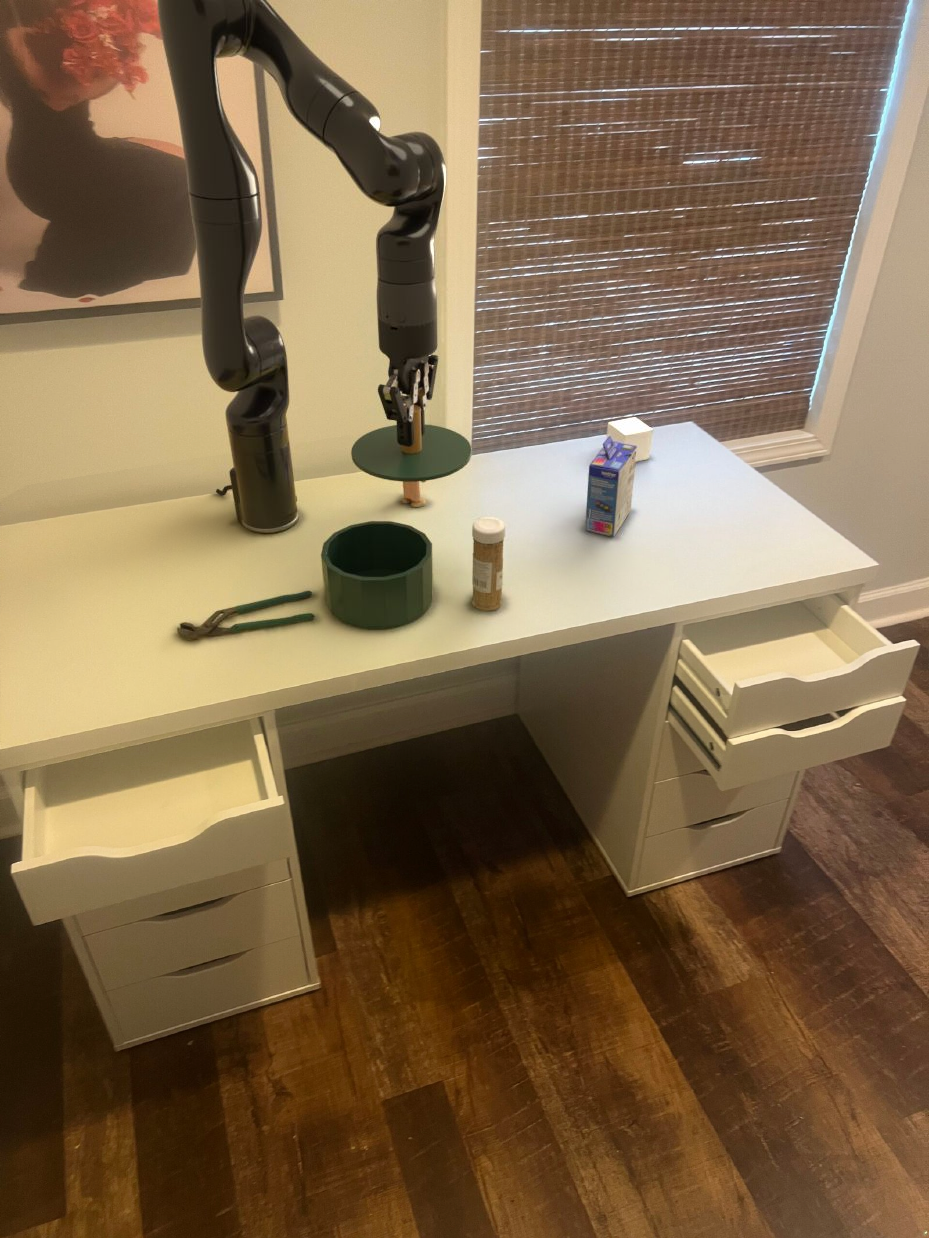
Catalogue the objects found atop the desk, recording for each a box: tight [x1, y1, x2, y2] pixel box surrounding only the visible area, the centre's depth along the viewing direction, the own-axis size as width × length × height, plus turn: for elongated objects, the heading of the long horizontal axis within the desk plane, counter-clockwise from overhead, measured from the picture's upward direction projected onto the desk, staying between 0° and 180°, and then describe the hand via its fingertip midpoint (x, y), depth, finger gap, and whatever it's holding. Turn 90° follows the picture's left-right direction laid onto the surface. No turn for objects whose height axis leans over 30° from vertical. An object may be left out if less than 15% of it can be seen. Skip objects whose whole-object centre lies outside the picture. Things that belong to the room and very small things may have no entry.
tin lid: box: [350, 404, 473, 483], centre depth 123 cm, size 17×17×7 cm
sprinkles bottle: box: [471, 516, 506, 612], centre depth 129 cm, size 5×5×14 cm
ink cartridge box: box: [584, 436, 637, 538], centre depth 148 cm, size 10×6×14 cm, turn 155°
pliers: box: [176, 590, 316, 641], centre depth 129 cm, size 20×6×1 cm, turn 109°
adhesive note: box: [605, 416, 654, 463], centre depth 170 cm, size 6×6×6 cm
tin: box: [320, 520, 434, 631], centre depth 131 cm, size 16×16×8 cm
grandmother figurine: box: [401, 481, 427, 508], centre depth 153 cm, size 8×4×13 cm, turn 58°
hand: (411, 439), depth 124 cm, fingers closed on tin lid, 3 cm apart
